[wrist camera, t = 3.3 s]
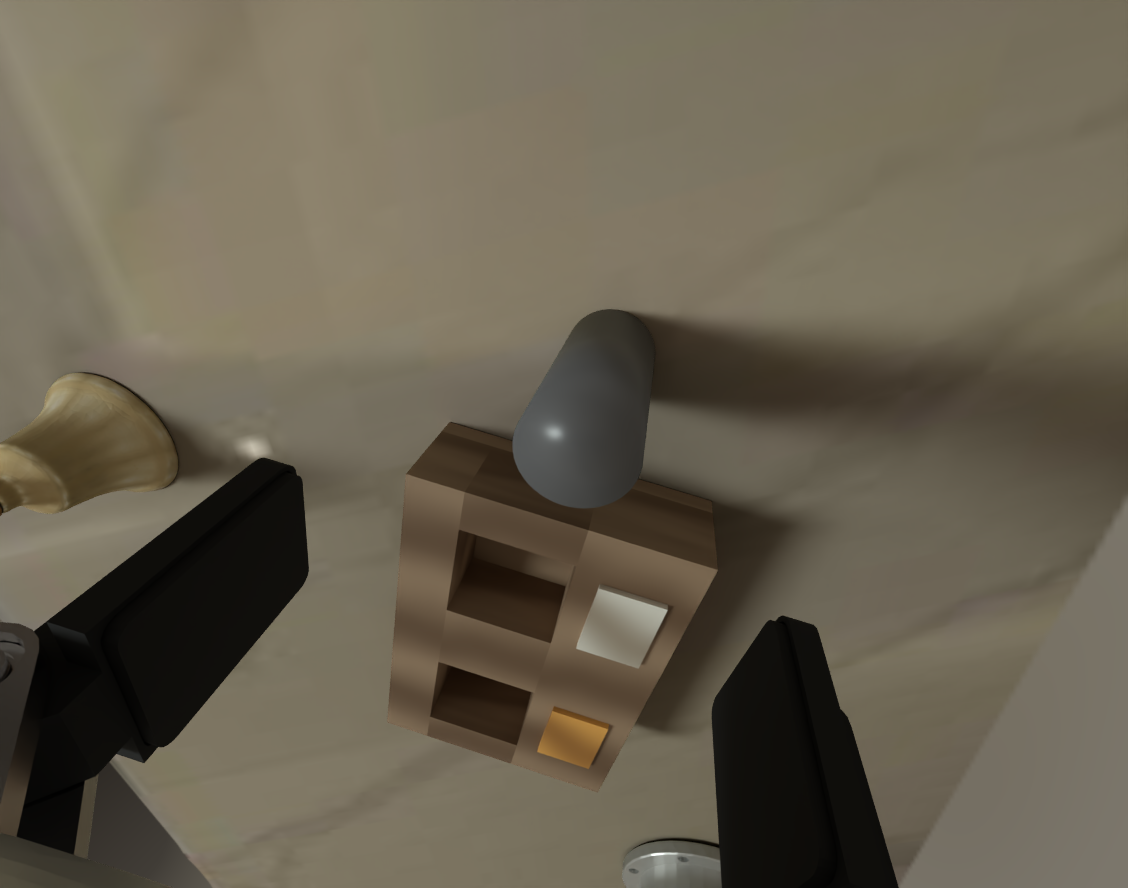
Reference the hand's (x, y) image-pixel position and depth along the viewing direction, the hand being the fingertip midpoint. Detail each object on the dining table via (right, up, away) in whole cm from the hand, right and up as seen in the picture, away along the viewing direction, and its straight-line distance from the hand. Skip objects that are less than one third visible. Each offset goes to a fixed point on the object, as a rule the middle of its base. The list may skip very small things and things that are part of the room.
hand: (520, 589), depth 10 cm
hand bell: (-27, +4, +22) cm, 35 cm away
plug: (+3, +7, +13) cm, 15 cm away
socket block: (-1, -6, +21) cm, 22 cm away
